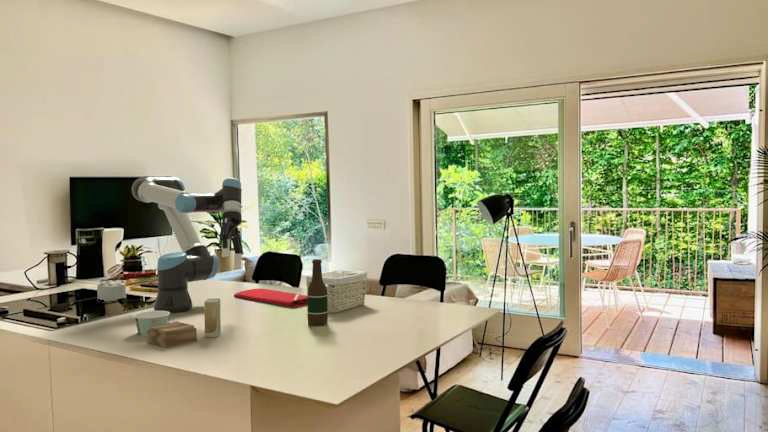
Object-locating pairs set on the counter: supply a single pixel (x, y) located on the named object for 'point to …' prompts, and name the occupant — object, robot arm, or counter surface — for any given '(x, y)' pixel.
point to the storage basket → (343, 289)
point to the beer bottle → (317, 297)
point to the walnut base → (172, 334)
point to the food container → (150, 320)
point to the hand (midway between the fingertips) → (231, 263)
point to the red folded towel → (273, 297)
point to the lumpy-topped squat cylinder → (111, 290)
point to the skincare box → (212, 317)
